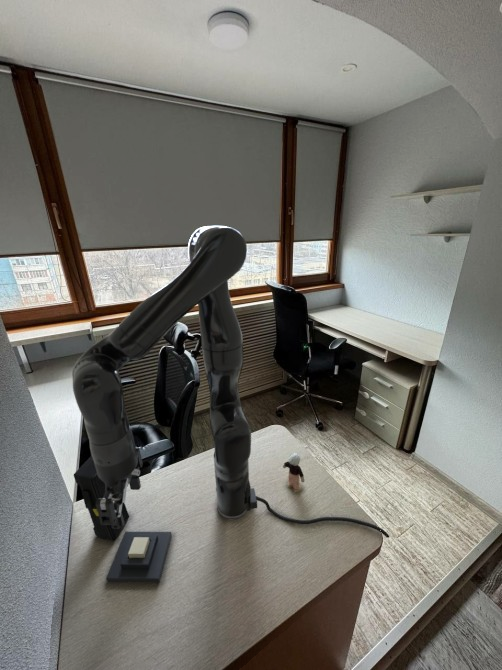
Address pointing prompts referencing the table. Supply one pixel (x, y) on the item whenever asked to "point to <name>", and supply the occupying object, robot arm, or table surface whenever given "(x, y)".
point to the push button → (140, 559)
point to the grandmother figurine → (294, 472)
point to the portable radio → (91, 492)
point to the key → (139, 547)
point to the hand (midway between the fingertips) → (128, 505)
